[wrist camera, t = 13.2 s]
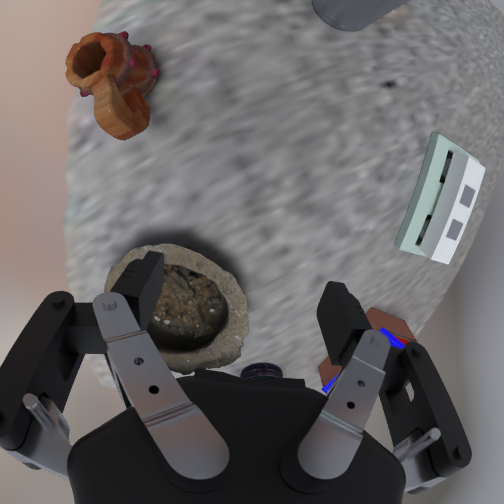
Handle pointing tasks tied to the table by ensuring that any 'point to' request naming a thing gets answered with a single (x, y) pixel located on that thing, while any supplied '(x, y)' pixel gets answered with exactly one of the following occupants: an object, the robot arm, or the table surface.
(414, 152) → the table surface
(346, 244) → the table surface
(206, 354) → the stone bowl
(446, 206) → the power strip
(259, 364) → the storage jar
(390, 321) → the house
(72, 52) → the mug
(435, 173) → the hole board
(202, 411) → the robot arm
